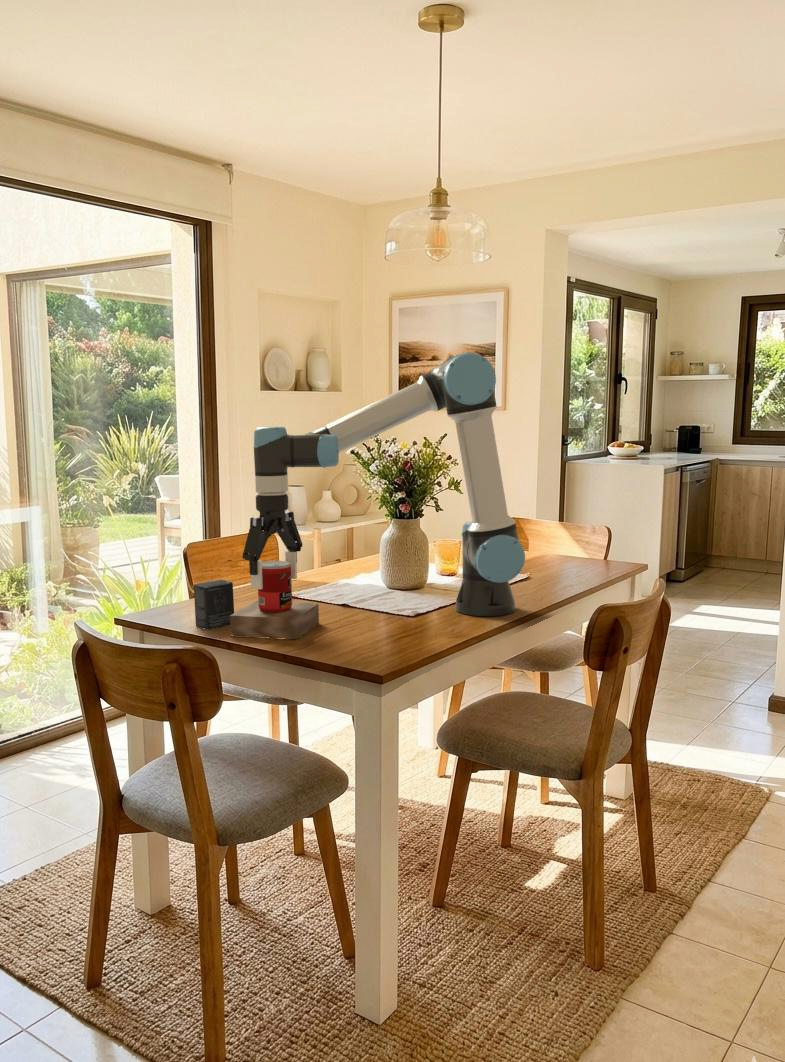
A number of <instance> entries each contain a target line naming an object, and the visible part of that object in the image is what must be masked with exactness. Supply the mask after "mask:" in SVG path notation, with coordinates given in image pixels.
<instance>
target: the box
mask: <svg viewBox="0 0 785 1062" xmlns="http://www.w3.org/2000/svg"><path fill="white" fill-rule="evenodd" d="M193 594H194V595H193V596H194V597H193V598H194V616H195V617H194V618H195V627H197V626H198V628H200V627H201V628H200V629H203V628H205V629H204V630H206V629H210V630H213V629H212V628H214V629H218V628H217V627H219V628H222V626H223V627H228V626H230V615H232V614H234V613H235V603H234V585H233V581H229V580H224V579H217V580H212V581H206V582H201V583H199V582H198V583H194V584H193Z"/></svg>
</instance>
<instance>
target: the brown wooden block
mask: <svg viewBox="0 0 785 1062" xmlns="http://www.w3.org/2000/svg"><path fill="white" fill-rule="evenodd" d="M319 609H320V608H319V603H315V602H311V603H310V602H295V601H294V602H293V601H292V607H291V609H290V610H289V611H285V612H277V613H269V612H263V611H261V610H260V609H259V604H258V600H256V601H254V602H252V603H250V604H248V605H246V606H245V607H242V608H241V609H239V610H237V611H234V614H232V615H230V625H229V626H230V636H231V635H233V636H249V637H269V638H285V639H297V638H299V637H300V636H301V637H303V636H304V635H305V634H307V633H309V632H310V631H311V630H312V629H314V628H315V627H316V626H318V625H319V624H320V615H319V614H320V613H319V612H320V610H319ZM309 630H310V631H309ZM306 632H307V633H306ZM303 634H304V635H303ZM302 635H303V636H302ZM301 637H300V638H301ZM300 638H299V639H300ZM297 640H298V639H297Z"/></svg>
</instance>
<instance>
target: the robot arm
mask: <svg viewBox="0 0 785 1062" xmlns="http://www.w3.org/2000/svg"><path fill="white" fill-rule="evenodd" d="M496 381H497V377H496V371H495V368H494V367H493V365H492V363H491V362H490V361H489V360H488V359H487V358H486V357H484V356H483V355H480V354H478V353H475V352H462V353H459V354H456V355H453V356H451V357H449V358H447V359H446V360H445V361H443V362H442V363H440V364H439V365H437V366H436V367H435V368H433V369H431V370H429V371H427V372H425V373H424V374H422V375H419V378H418V381H417V382H414V383H413V384H410V385H408V386H406V387H403V388H401V389H400V390H398V391H396V392H393V393H391V394H390V395H387V396H384V397H382V398H381V399H379V400H376V401H374V402H372V403H370V404H368V405H366V406H364V407H362V408H360V409H358V410H356V411H353V412H351V413H349V414H347V415H344V416H343V417H341V418H338V419H336V420H335V421H332V422H330V423H328V424H325V426H322V427H319V428H318V429H316V430H313V431H309V432H307V433H305V434H295V435H294V434H288V432H287V429H286V427H285V426H259V427H256V428H255V429H254V432H253V459H254V460H253V461H254V463H253V464H254V476H255V479H254V480H255V493H257V494H256V496H255V510H256V511H258V512H259V517H257V516H251V517H250V520H249V529H248V534H247V538H246V541H245V543H244V544H245V545H244V548H243V551H242V552H243V553H242V556H241V558H242V559H243V560H244V561H248V563H249V564H248V566H249V575H250V588H251V589H253V590H254V589H255V590H258V589H263V588H262V562H263V561H262V560H260V558H261V556H262V554H263V551H264V549H265V547H266V545H267V543H268V540H269V538H271V537H272V535H274V534H277V535H278V536H279V538H280V539H281V542H282V543H283V545H284V546H285V548H286V550H287V551H285V552H284V553H285V554H284V556H285V561H286V562H290V563H291V580H296V579H298V568H297V567H298V566H297V562H298V554H297V553H298V552H301V551H302V548H303V542H302V539H301V535H300V533H299V530H298V527H297V524H296V521H295V515H294V511H292V510H291V511H290V510H289V495H288V492H289V480H288V479H289V476H288V475H289V474H288V468H322V469H325V468H330V467H336V466H338V465H339V460H340V459H339V454H340V453H342V452H344V451H346V450H348V449H350V448H352V447H355V446H357V445H359V444H361V443H363V442H366V441H367V440H370V439H372V438H374V437H377V436H378V435H380V434H383V433H385V432H387V431H388V430H391V429H393V428H395V427H397V426H399V425H402V424H404V423H406V422H408V421H411V420H413V419H414V418H416V417H418V416H421V415H423V414H425V413H427V412H429V411H434V412H439V411H441V410H443V409H445V408H446V414H447V417H448V418H449V419H451V420H453V421H454V423H455V428H456V434H457V440H458V445H459V452H460V458H461V463H462V467H463V469H462V470H463V474H464V480H465V486H466V492H467V493H466V494H467V497H468V503H469V509H470V515H471V521H467V522H464V524H463V525H462V531H461V537H462V542H461V543H462V580H461V585H460V588H459V591H458V594H457V596H456V599H455V611H457V612H458V613H459V614H463V615H467V616H474V617H477V616H478V617H496V616H497V617H498V616H499V617H500V616H506V615H511V614H513V613H514V612H515V611H516V603H515V601H516V600H515V598H514V595H513V592H512V588H511V585H510V583H509V581H512V580H513V579H515V578H516V577H517V576H519V574H520V573H521V572H522V570H523V568H524V566H525V562H526V552H525V549H524V547H523V544H522V543H521V542H520V540H519V534H518V528H517V522H516V520H515V519H514V518H513V517H511V516H510V515H509V513H508V508H507V507H508V506H507V501H506V495H505V489H504V483H503V477H502V471H501V466H500V457H499V454H498V447H497V440H496V435H495V430H494V424H493V422H494V421H493V417H492V416H493V414H494V412H495V410H496V409H497V401H496V395H495V388H496V383H497V382H496ZM288 510H289V511H288Z"/></svg>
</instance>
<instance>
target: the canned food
mask: <svg viewBox="0 0 785 1062" xmlns="http://www.w3.org/2000/svg"><path fill="white" fill-rule="evenodd" d="M292 587H293V586H292V579H291V563H290V562H286V560H285V561H284V560H268V561H262V588H263V589H257V599H258V600H257V601H258V604H259V609H260V610H261V611H263V612H269V613H277V612H285V611H289V610H290V609H291V607H292V602H293V596H292V595H293V593H292V592H293V588H292Z"/></svg>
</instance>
